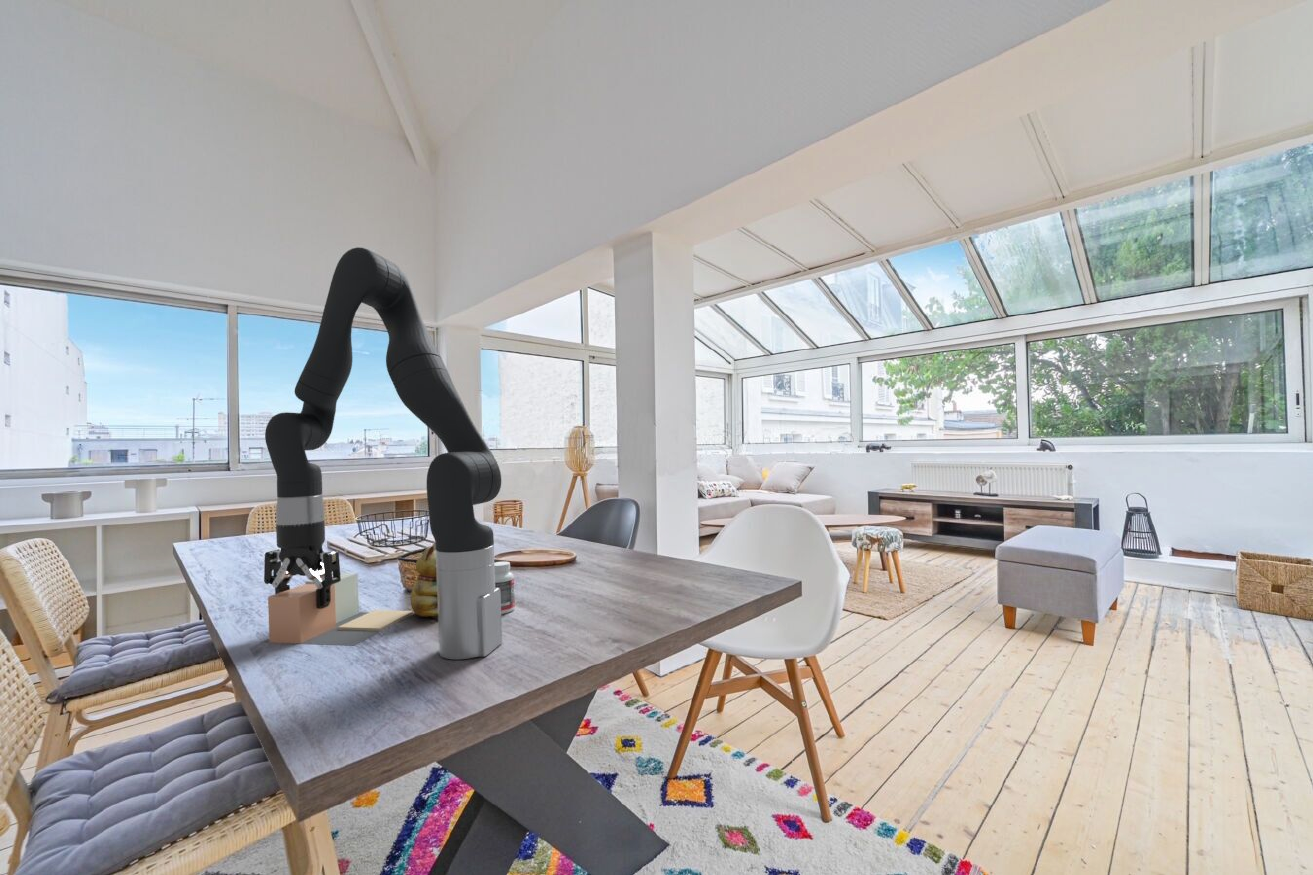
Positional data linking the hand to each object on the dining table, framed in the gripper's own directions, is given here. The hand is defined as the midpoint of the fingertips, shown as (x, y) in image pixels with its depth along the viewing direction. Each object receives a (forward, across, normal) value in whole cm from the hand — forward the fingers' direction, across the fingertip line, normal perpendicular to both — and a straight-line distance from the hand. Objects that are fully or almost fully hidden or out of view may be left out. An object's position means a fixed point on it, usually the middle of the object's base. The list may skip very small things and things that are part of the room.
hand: (303, 606), depth 99 cm
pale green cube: (+5, +2, -9) cm, 10 cm away
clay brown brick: (+5, 0, 0) cm, 5 cm away
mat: (+5, -5, -4) cm, 8 cm away
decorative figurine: (+5, -18, -13) cm, 23 cm away
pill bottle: (+5, -31, -17) cm, 36 cm away
